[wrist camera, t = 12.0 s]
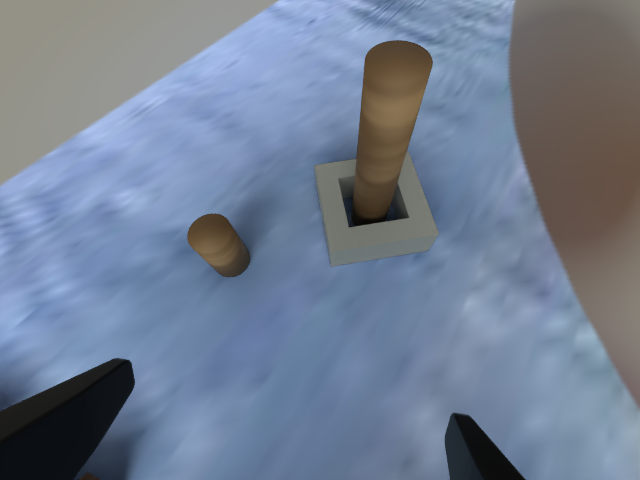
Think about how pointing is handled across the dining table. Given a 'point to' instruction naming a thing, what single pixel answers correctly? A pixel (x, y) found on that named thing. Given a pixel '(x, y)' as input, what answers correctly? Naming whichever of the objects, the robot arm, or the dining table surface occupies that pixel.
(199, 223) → the short dowel
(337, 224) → the hole block
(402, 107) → the long dowel
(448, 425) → the robot arm
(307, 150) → the dining table surface
